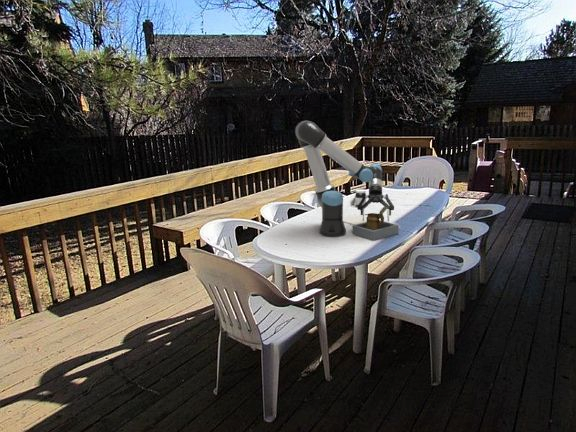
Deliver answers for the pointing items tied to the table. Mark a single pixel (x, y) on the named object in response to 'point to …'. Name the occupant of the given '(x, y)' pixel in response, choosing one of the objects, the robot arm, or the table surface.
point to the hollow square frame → (375, 231)
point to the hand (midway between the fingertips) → (375, 220)
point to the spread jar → (358, 198)
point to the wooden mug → (375, 219)
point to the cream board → (354, 219)
